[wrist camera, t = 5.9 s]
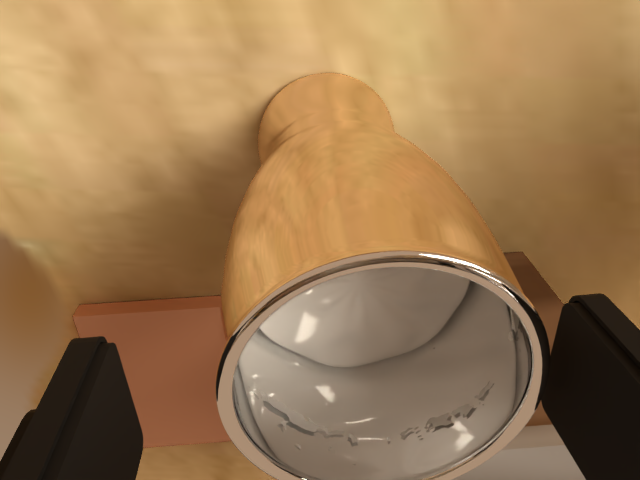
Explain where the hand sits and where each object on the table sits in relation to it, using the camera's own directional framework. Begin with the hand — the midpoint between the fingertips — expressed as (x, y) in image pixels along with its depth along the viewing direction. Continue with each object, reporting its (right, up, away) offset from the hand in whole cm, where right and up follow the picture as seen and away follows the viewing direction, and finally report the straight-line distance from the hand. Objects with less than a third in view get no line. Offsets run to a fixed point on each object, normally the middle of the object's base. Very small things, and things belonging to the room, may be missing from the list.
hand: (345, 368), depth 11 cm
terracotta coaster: (-8, -5, +18) cm, 20 cm away
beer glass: (0, +7, +12) cm, 14 cm away
